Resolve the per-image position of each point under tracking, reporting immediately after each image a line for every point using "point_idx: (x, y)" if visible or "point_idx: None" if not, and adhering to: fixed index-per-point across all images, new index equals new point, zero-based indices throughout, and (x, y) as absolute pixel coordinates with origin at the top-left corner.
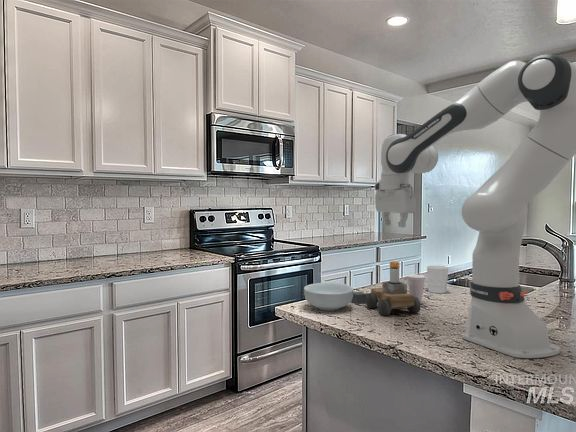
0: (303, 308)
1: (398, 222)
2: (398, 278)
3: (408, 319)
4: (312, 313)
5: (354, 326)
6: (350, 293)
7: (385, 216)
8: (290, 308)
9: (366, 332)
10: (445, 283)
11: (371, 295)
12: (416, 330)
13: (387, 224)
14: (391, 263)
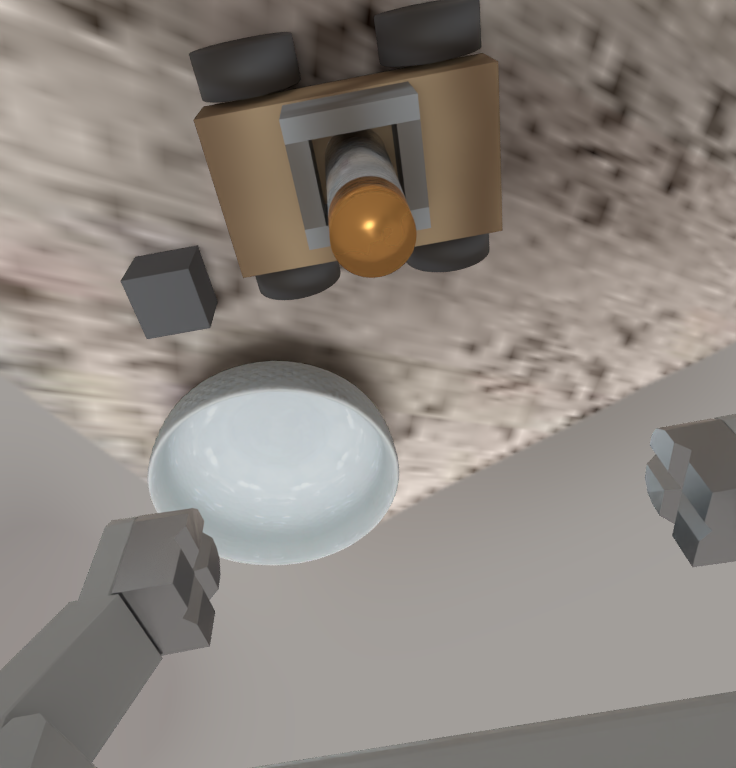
0: None
1: (689, 555)
2: (392, 166)
3: (539, 120)
4: None
5: (557, 376)
6: (361, 405)
7: (76, 729)
8: None
9: (636, 353)
10: None
11: (320, 283)
12: (701, 152)
13: (209, 560)
14: (391, 268)
